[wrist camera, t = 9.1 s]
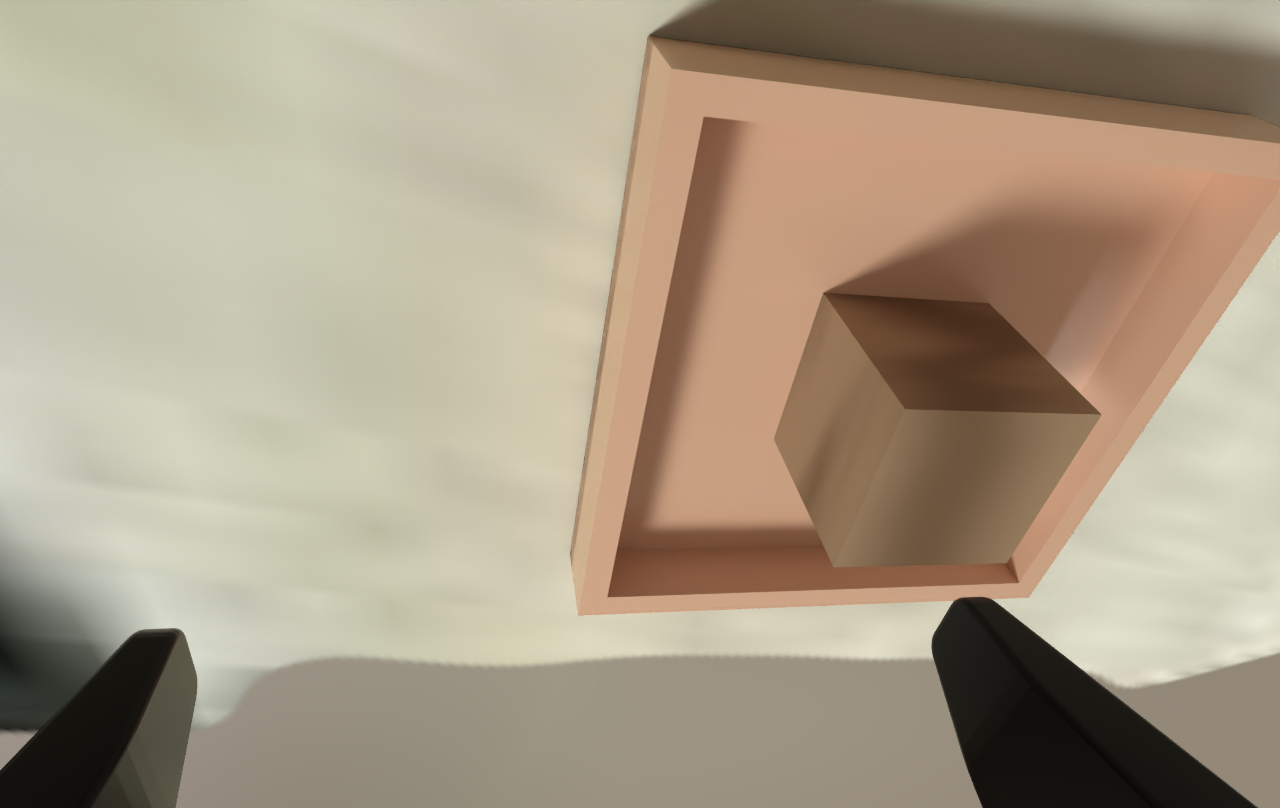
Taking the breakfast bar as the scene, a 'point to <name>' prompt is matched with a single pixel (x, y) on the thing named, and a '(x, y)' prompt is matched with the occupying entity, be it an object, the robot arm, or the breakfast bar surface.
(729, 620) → the breakfast bar surface
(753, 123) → the terracotta dish
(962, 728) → the robot arm
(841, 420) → the walnut cube
